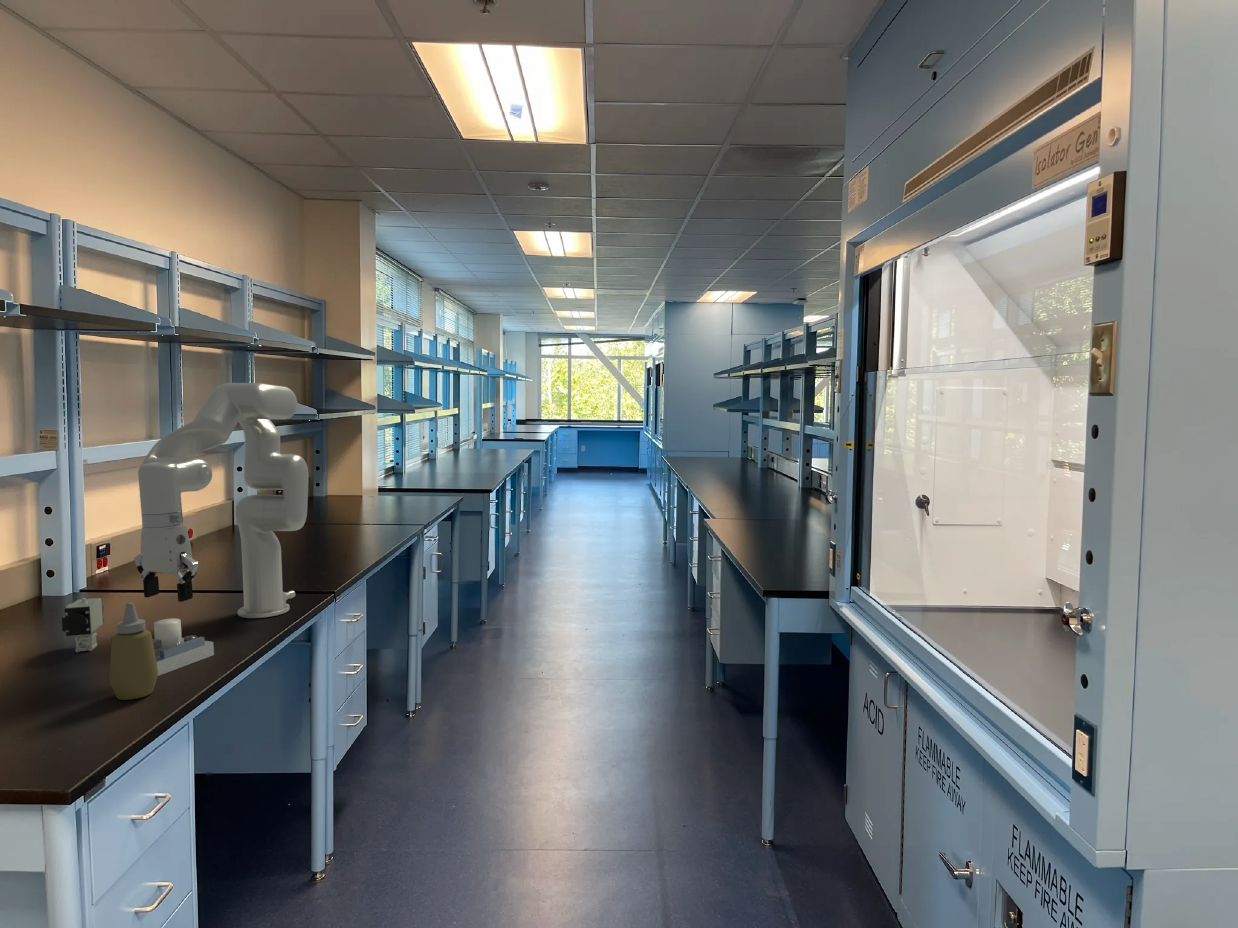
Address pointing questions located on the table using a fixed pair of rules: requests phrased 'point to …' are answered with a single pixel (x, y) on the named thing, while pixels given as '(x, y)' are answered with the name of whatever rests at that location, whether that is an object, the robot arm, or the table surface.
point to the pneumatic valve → (83, 622)
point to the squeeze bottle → (132, 658)
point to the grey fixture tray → (183, 654)
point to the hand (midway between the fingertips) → (168, 597)
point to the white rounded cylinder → (167, 634)
